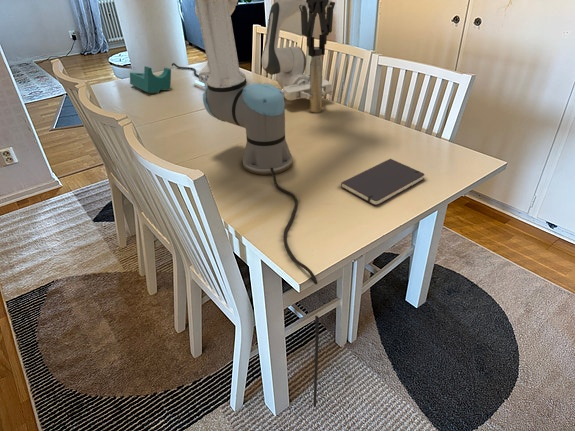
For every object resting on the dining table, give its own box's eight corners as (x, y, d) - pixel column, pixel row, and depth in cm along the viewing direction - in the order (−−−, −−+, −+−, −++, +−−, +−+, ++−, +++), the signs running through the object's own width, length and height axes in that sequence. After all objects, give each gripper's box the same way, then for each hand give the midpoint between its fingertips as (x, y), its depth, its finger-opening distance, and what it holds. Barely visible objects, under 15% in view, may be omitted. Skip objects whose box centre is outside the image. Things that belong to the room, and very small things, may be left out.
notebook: (389, 163, 124) (340, 187, 113) (390, 158, 123) (341, 182, 112) (424, 178, 116) (375, 206, 105) (425, 174, 115) (376, 201, 104)
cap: (308, 54, 149) (308, 48, 147) (316, 52, 151) (316, 46, 149) (316, 56, 146) (316, 50, 145) (324, 54, 148) (324, 47, 147)
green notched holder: (170, 93, 186) (171, 69, 181) (147, 92, 179) (148, 67, 174) (151, 84, 197) (152, 61, 192) (130, 83, 190) (130, 60, 185)
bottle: (307, 110, 161) (307, 49, 148) (315, 107, 164) (316, 47, 150) (315, 113, 158) (316, 51, 145) (323, 110, 161) (325, 49, 147)
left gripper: (277, 82, 161) (293, 92, 151) (320, 74, 169) (339, 83, 158) (277, 97, 165) (293, 108, 155) (320, 89, 172) (338, 98, 162)
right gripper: (301, -15, 129) (302, 60, 143) (345, -20, 136) (341, 53, 149) (290, -17, 134) (291, 56, 148) (332, -21, 141) (329, 49, 155)
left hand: (317, 95), depth 157 cm, fingers closed on bottle, 5 cm apart
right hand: (316, 54), depth 149 cm, fingers closed on cap, 4 cm apart
